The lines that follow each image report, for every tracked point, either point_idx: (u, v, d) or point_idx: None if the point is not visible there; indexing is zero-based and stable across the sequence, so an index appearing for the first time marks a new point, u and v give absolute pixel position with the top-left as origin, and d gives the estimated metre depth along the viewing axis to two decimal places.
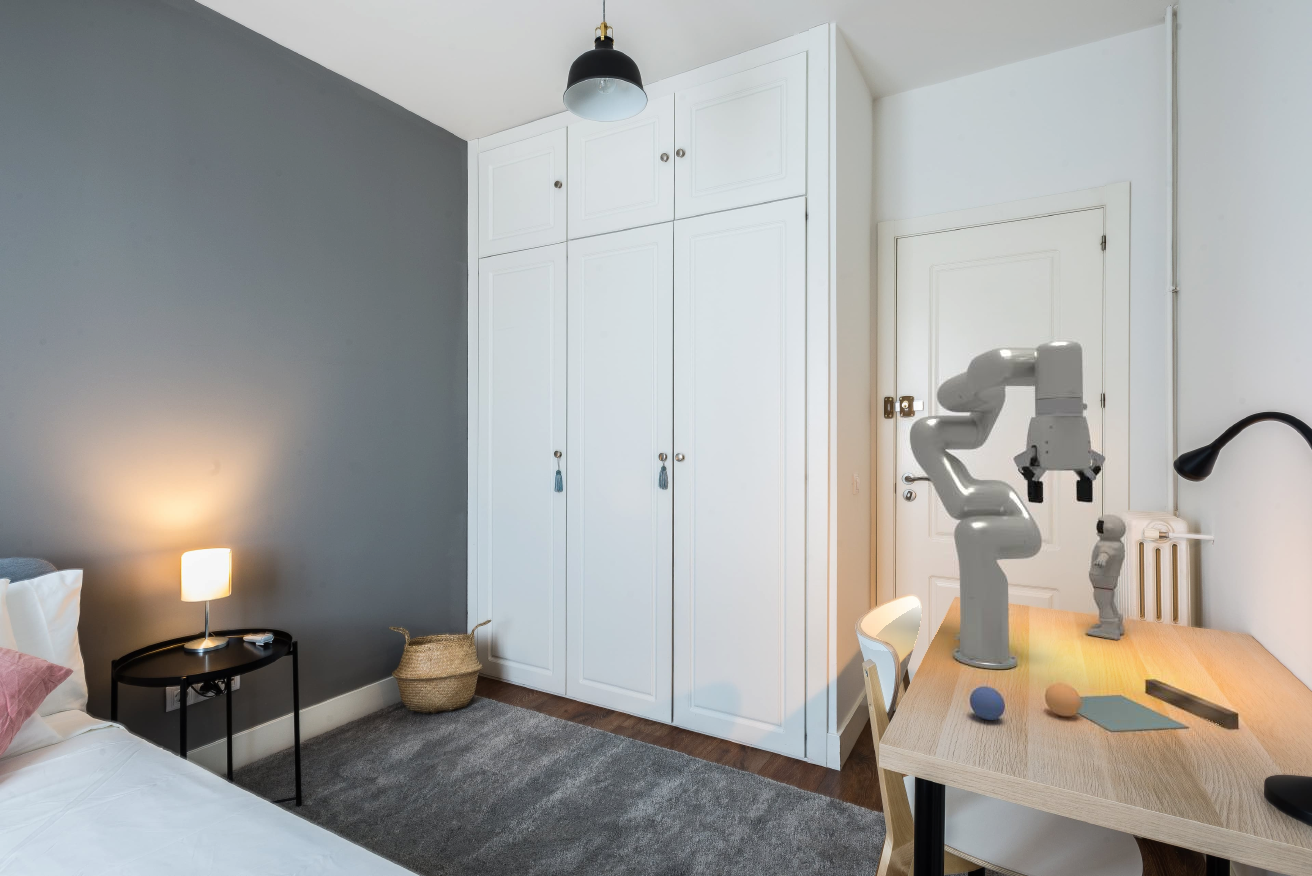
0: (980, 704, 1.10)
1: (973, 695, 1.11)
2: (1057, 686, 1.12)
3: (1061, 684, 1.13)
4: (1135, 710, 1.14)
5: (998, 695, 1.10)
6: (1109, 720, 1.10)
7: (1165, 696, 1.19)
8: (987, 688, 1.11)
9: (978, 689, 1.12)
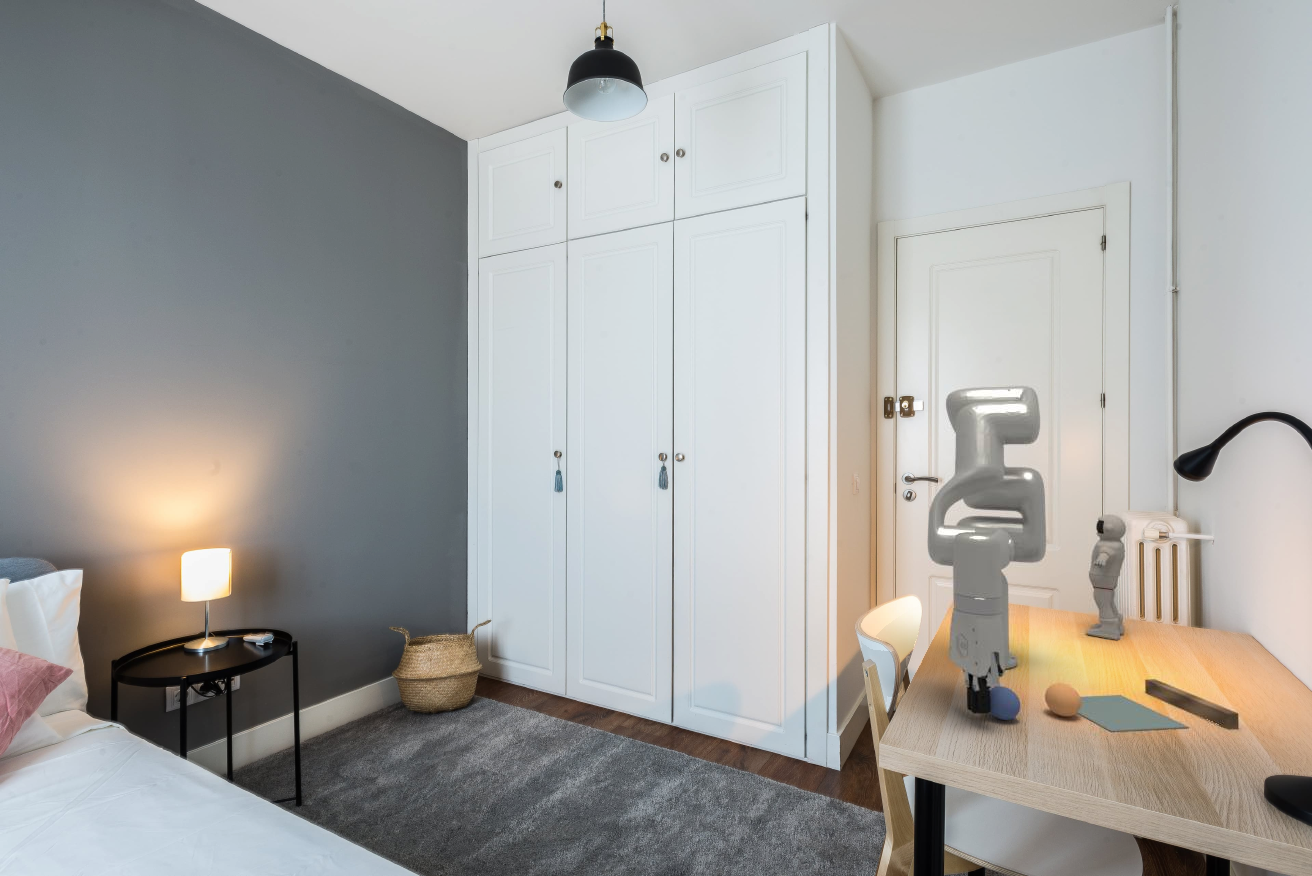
0: (1001, 697, 1.10)
1: (996, 688, 1.11)
2: (1057, 686, 1.12)
3: (1061, 684, 1.13)
4: (1135, 710, 1.14)
5: (1019, 702, 1.10)
6: (1109, 720, 1.10)
7: (1165, 696, 1.19)
8: (1012, 691, 1.11)
9: (1003, 687, 1.12)
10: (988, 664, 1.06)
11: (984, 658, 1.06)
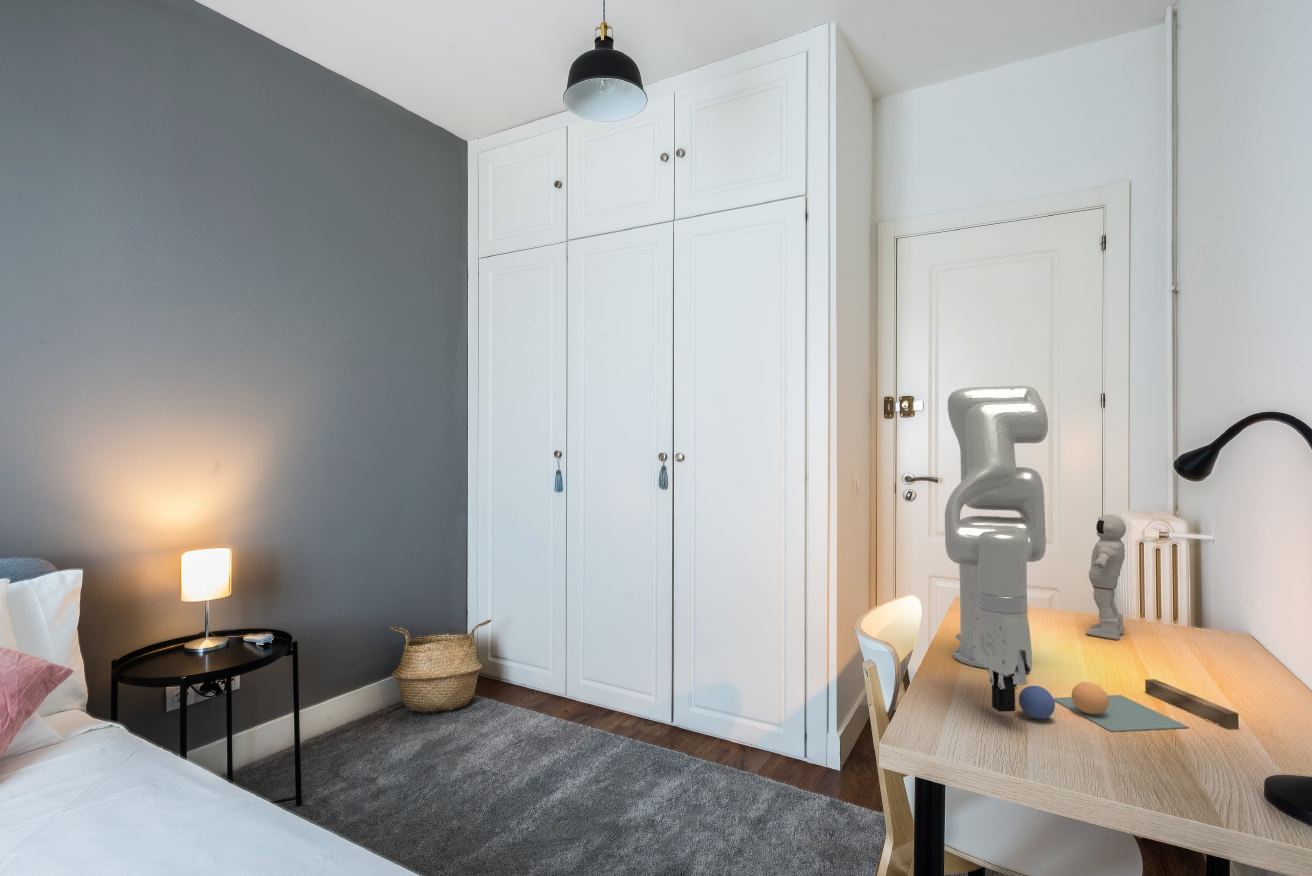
0: (1054, 705, 1.10)
1: None
2: None
3: None
4: (1135, 710, 1.14)
5: (1038, 718, 1.10)
6: (1109, 720, 1.10)
7: (1165, 696, 1.19)
8: None
9: None
10: (1015, 662, 1.07)
11: (1011, 656, 1.07)
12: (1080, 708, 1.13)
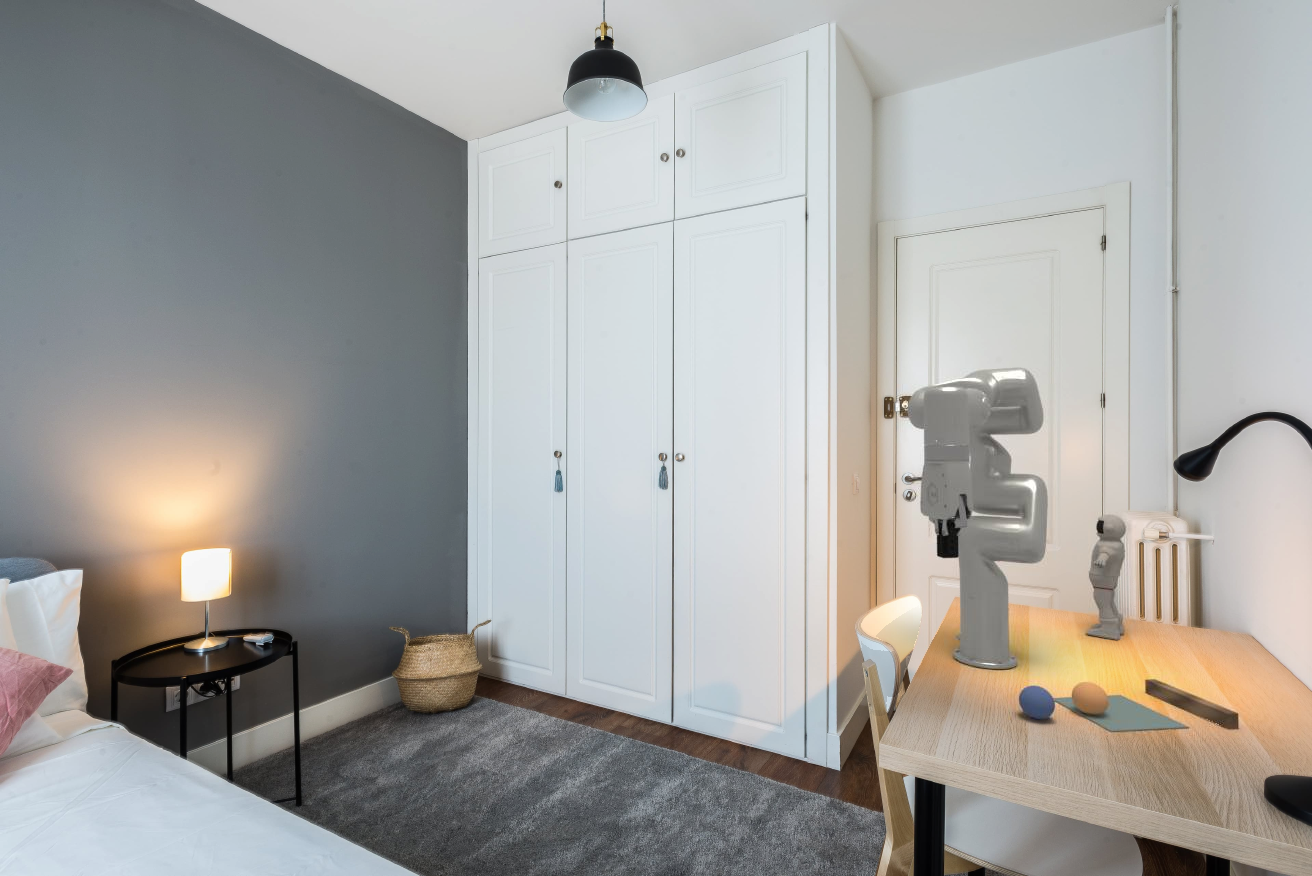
0: (1054, 705, 1.10)
1: None
2: None
3: None
4: (1135, 710, 1.14)
5: (1038, 718, 1.10)
6: (1109, 720, 1.10)
7: (1165, 696, 1.19)
8: None
9: None
10: (956, 505, 1.11)
11: (953, 500, 1.11)
12: (1080, 708, 1.13)
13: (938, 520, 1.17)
